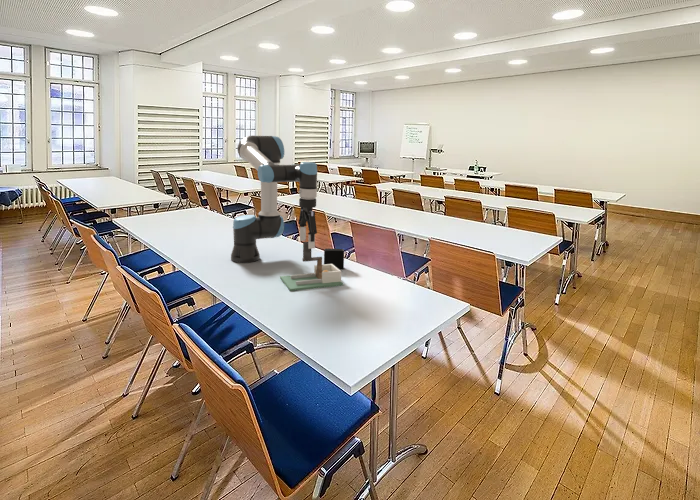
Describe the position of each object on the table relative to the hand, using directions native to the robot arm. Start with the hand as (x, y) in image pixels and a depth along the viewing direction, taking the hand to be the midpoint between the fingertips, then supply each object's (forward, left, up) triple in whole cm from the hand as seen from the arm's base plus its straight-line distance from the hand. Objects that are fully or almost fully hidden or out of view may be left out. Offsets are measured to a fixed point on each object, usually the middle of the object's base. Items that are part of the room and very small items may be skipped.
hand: (307, 244), depth 200 cm
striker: (0, +3, -17) cm, 17 cm away
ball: (0, +9, -15) cm, 18 cm away
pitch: (0, +2, -18) cm, 18 cm away
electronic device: (-17, +20, -18) cm, 31 cm away
